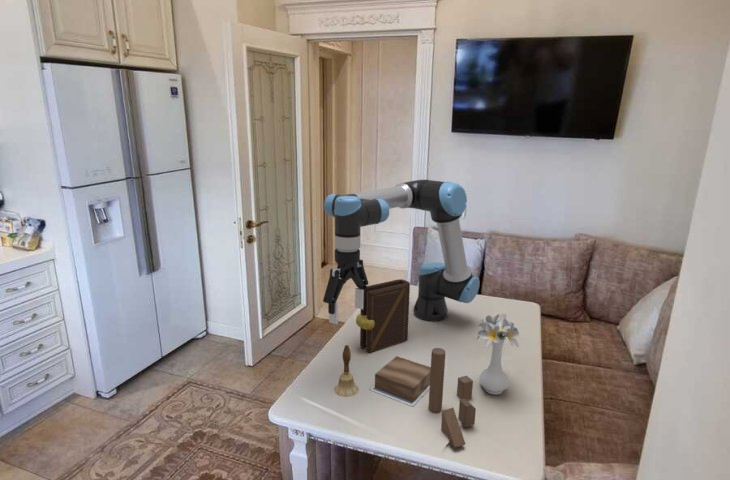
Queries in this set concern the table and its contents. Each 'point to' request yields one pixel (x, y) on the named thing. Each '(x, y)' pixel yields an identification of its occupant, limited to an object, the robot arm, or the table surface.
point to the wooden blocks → (448, 415)
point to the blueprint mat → (399, 397)
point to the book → (384, 315)
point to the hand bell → (346, 378)
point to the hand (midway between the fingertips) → (346, 315)
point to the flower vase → (496, 351)
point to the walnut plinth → (403, 378)
